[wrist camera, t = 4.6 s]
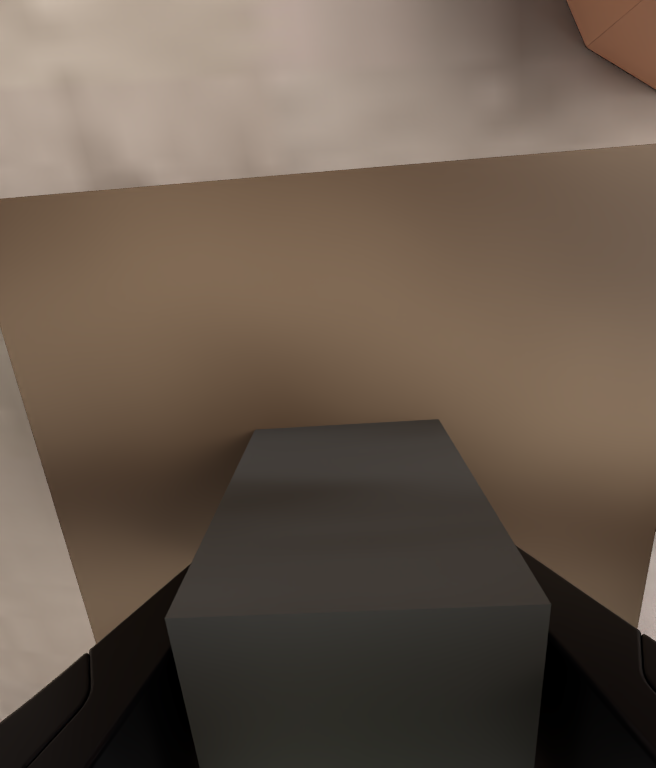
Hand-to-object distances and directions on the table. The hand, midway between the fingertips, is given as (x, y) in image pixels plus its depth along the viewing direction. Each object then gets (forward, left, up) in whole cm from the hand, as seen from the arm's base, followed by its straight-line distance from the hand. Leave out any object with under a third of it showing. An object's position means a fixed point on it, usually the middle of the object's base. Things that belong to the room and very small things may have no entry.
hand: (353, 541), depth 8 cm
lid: (0, 0, -2) cm, 2 cm away
